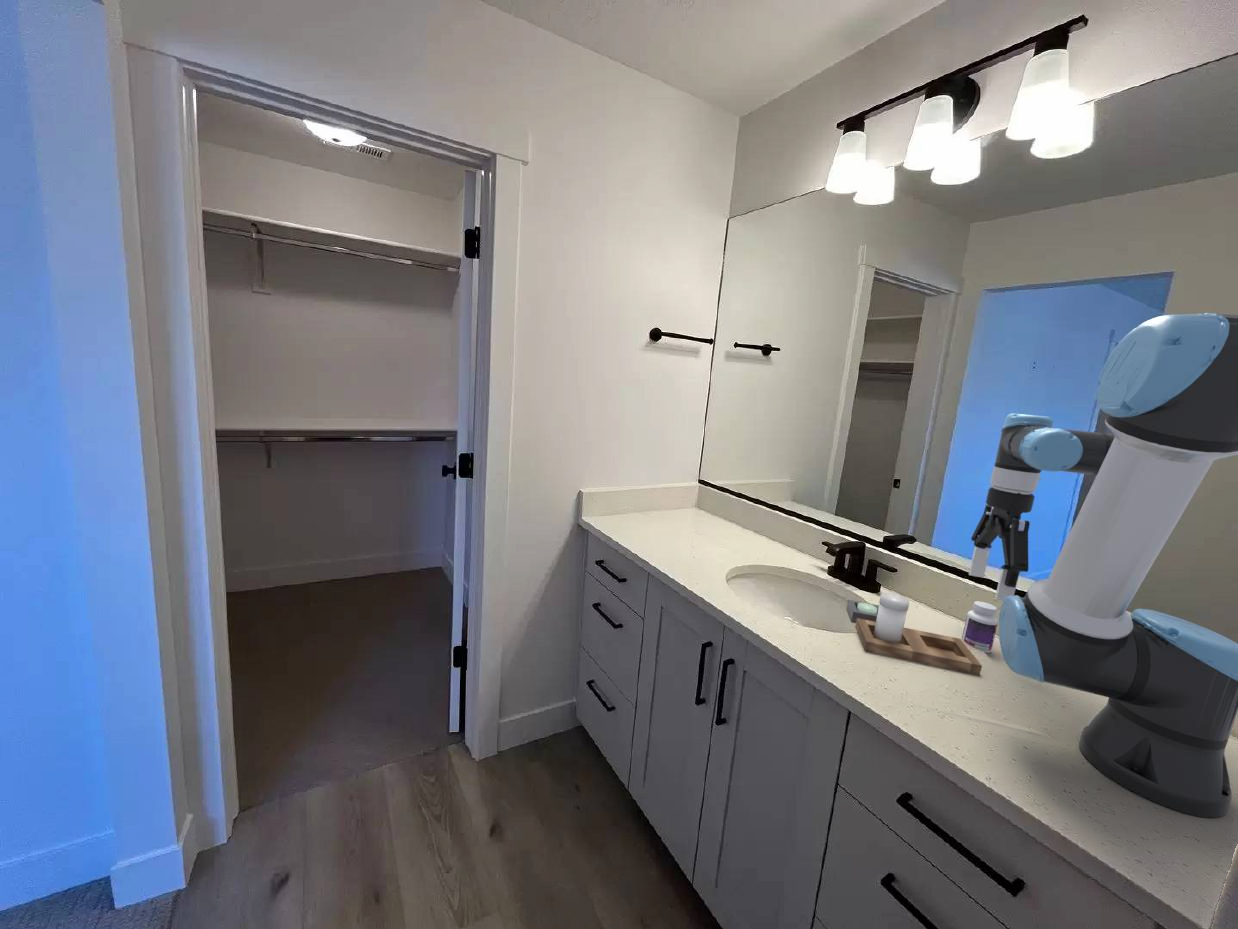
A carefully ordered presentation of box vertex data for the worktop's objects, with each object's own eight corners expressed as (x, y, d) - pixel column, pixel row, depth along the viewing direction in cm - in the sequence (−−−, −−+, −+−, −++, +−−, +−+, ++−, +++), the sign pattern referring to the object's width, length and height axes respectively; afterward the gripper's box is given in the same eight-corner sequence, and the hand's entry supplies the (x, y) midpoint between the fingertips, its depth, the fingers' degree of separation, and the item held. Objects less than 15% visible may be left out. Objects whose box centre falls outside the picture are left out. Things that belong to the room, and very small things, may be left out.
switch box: (884, 633, 111) (887, 618, 110) (850, 626, 113) (853, 611, 112) (877, 619, 117) (880, 605, 117) (845, 613, 119) (848, 599, 119)
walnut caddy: (957, 652, 105) (960, 638, 105) (978, 680, 95) (982, 665, 94) (854, 630, 110) (856, 618, 110) (864, 655, 100) (866, 641, 100)
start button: (876, 625, 112) (879, 612, 112) (857, 621, 113) (859, 608, 113) (872, 617, 116) (875, 604, 116) (854, 614, 117) (856, 601, 117)
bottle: (903, 652, 101) (912, 605, 99) (874, 646, 102) (883, 600, 100) (896, 640, 106) (905, 595, 104) (869, 635, 107) (878, 590, 105)
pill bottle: (996, 656, 105) (1006, 612, 104) (967, 651, 106) (977, 608, 105) (983, 643, 111) (992, 602, 109) (956, 639, 112) (965, 597, 110)
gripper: (1069, 506, 90) (1040, 616, 94) (1005, 481, 114) (984, 570, 117) (1020, 499, 92) (994, 608, 96) (967, 477, 116) (948, 564, 119)
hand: (988, 587), depth 106 cm, fingers open, 13 cm apart
